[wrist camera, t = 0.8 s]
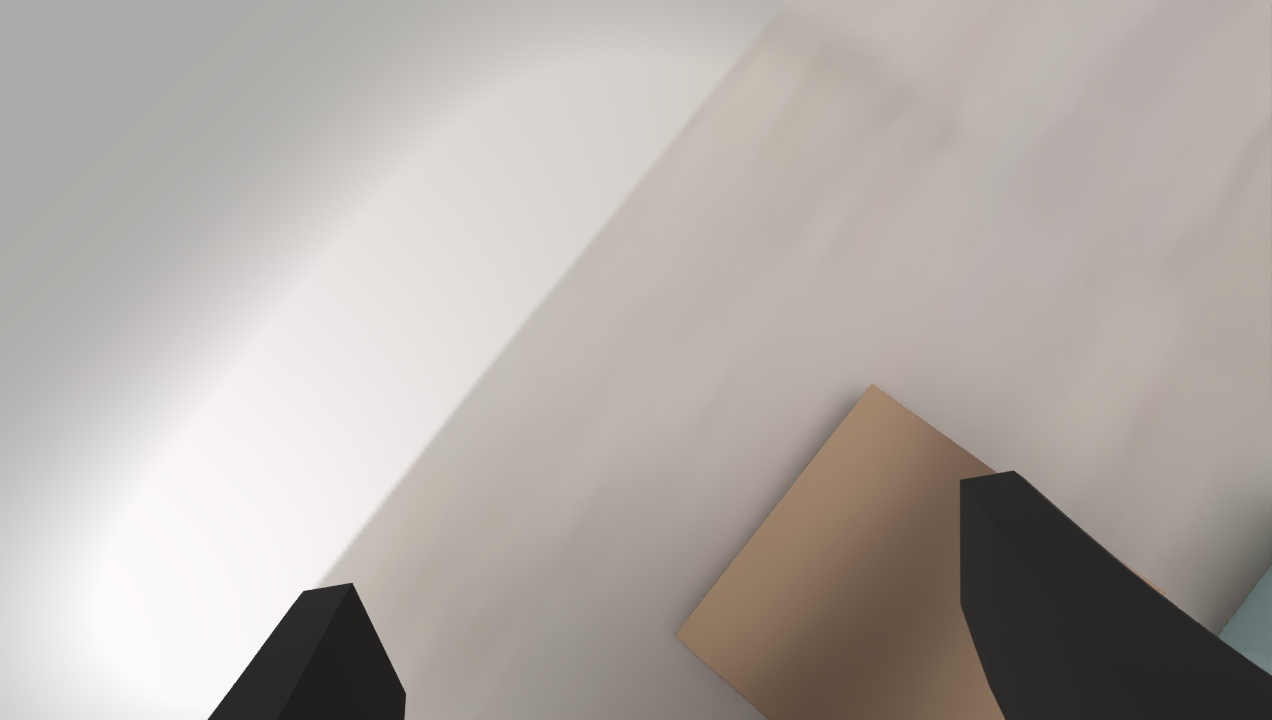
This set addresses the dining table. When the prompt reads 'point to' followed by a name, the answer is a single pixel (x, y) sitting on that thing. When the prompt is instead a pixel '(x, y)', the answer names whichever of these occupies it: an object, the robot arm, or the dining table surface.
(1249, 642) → the teal block
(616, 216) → the dining table surface
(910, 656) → the walnut base block
